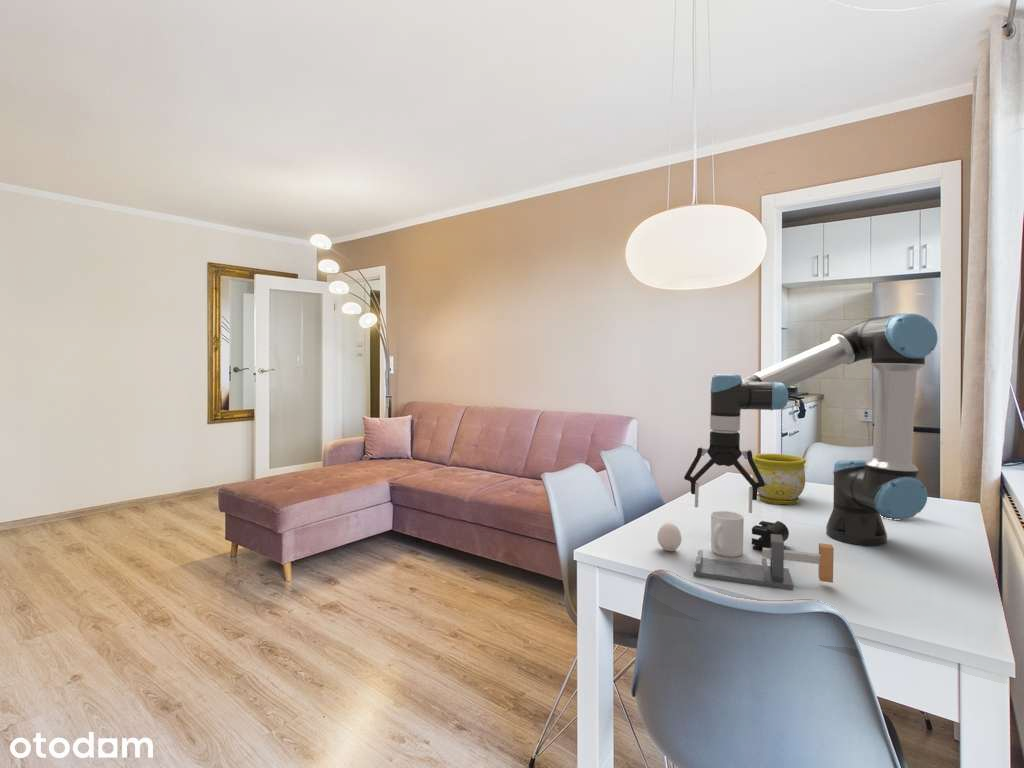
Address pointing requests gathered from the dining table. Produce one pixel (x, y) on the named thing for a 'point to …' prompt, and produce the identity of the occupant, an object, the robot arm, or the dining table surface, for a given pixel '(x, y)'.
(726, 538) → the mug
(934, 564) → the dining table surface
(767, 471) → the flowerpot
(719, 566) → the dock
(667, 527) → the egg
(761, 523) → the end cap
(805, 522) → the dining table surface
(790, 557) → the lever
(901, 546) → the dining table surface
